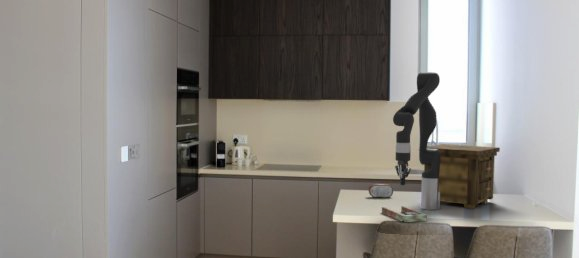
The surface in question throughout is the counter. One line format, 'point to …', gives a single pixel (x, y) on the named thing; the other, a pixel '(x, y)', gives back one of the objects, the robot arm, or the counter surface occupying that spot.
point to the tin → (380, 190)
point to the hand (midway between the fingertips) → (402, 184)
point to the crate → (465, 173)
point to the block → (411, 213)
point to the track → (405, 217)
